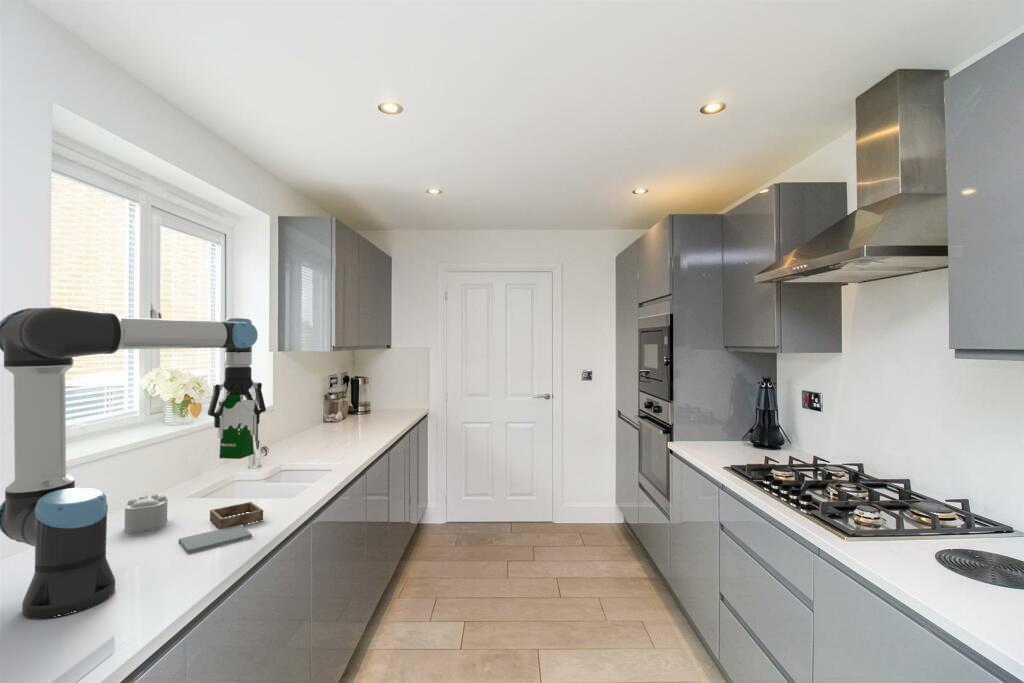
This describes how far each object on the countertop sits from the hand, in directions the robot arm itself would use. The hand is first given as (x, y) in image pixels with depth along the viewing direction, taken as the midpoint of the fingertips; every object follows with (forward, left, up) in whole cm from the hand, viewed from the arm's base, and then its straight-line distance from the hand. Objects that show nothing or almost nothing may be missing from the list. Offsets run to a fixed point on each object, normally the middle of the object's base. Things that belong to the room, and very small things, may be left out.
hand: (237, 435), depth 156 cm
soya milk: (0, 0, -7) cm, 7 cm away
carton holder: (0, 0, -27) cm, 27 cm away
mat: (-9, -13, -27) cm, 31 cm away
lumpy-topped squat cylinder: (-21, +17, -28) cm, 38 cm away
